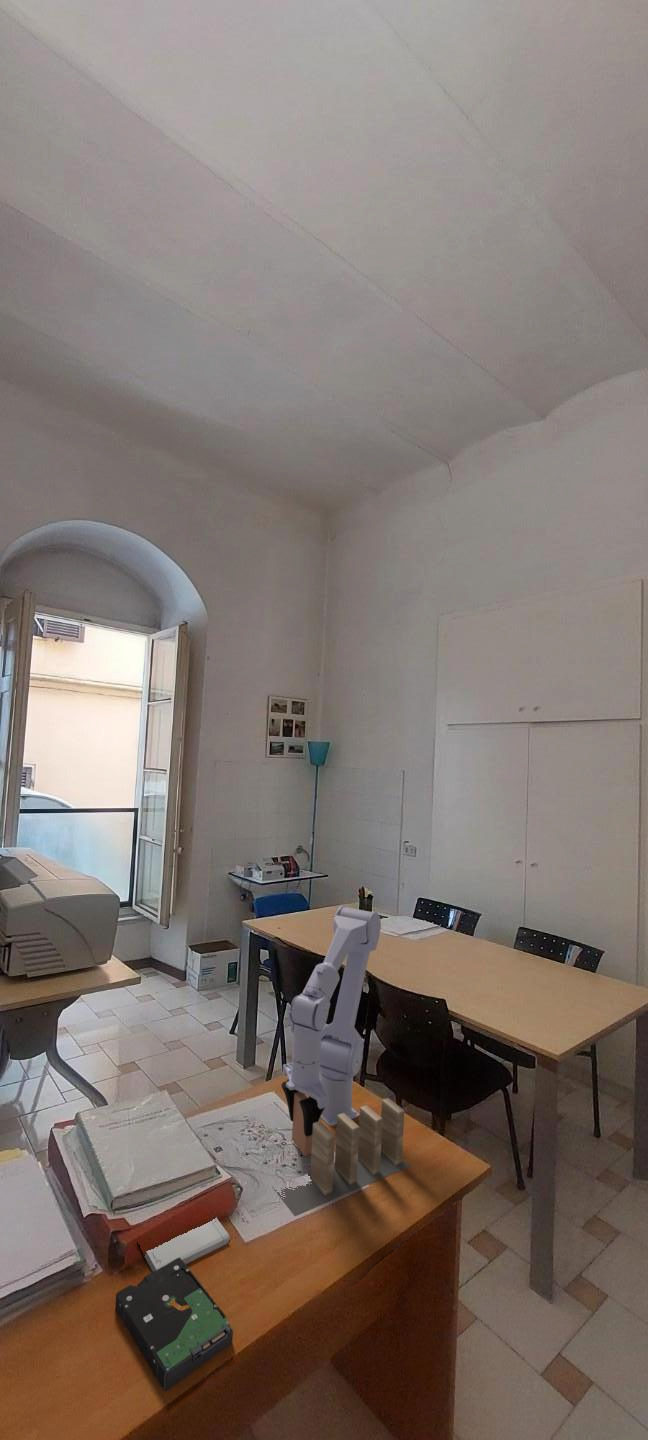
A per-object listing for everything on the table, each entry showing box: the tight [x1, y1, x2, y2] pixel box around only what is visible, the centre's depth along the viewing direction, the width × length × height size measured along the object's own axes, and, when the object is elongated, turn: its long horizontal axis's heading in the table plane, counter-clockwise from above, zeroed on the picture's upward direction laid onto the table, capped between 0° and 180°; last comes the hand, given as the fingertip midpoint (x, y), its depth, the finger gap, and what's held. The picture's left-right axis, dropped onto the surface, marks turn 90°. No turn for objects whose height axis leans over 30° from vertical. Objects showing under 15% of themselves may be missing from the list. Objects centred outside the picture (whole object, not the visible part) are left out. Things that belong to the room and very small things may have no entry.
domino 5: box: [380, 1097, 405, 1166], centre depth 123 cm, size 2×5×10 cm, turn 34°
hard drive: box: [143, 1217, 231, 1272], centre depth 99 cm, size 2×8×12 cm
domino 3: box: [334, 1113, 359, 1185], centre depth 117 cm, size 2×5×10 cm, turn 34°
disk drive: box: [114, 1257, 234, 1392], centre depth 85 cm, size 10×3×15 cm
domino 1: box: [291, 1092, 312, 1156], centre depth 124 cm, size 2×5×10 cm, turn 34°
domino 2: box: [309, 1120, 336, 1195], centre depth 114 cm, size 2×5×10 cm, turn 33°
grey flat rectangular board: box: [273, 1153, 411, 1217], centre depth 116 cm, size 8×26×1 cm, turn 124°
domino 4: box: [358, 1104, 382, 1175], centre depth 120 cm, size 2×5×10 cm, turn 34°
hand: (302, 1126), depth 124 cm, fingers closed on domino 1, 5 cm apart
